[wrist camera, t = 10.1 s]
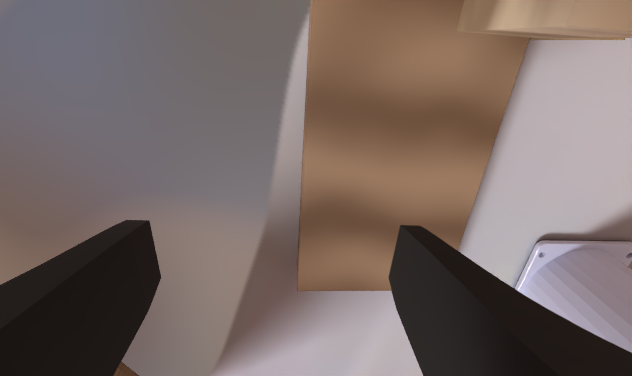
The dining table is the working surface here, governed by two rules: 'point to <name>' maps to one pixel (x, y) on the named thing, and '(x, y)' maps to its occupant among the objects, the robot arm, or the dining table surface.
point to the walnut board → (393, 132)
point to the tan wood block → (549, 19)
